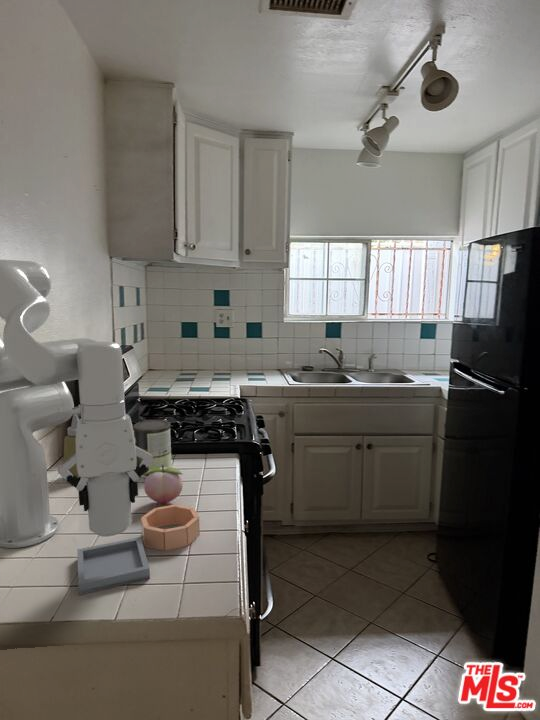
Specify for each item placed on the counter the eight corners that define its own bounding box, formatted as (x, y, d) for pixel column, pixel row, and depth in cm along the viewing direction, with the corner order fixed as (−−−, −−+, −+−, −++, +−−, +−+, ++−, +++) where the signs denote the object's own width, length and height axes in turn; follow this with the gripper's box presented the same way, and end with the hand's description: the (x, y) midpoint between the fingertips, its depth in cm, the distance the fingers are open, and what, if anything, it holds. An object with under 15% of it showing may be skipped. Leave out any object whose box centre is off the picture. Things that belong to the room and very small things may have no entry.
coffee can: (130, 478, 132) (128, 429, 130) (141, 464, 142) (139, 419, 140) (167, 478, 132) (165, 429, 130) (175, 465, 142) (174, 419, 140)
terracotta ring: (147, 554, 94) (146, 535, 94) (139, 528, 105) (138, 510, 104) (203, 542, 98) (203, 524, 98) (191, 518, 109) (190, 501, 108)
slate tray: (79, 595, 82) (78, 584, 81) (78, 559, 93) (77, 549, 92) (149, 578, 86) (149, 568, 86) (140, 546, 97) (140, 536, 97)
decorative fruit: (184, 494, 121) (183, 457, 120) (183, 509, 113) (181, 469, 112) (146, 497, 120) (144, 459, 119) (142, 512, 112) (140, 471, 111)
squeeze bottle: (76, 485, 128) (71, 420, 125) (57, 479, 132) (52, 416, 129) (101, 475, 135) (97, 413, 132) (82, 469, 139) (78, 410, 136)
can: (119, 540, 84) (115, 475, 82) (81, 536, 85) (76, 473, 84) (139, 520, 91) (135, 460, 89) (103, 517, 92) (99, 458, 91)
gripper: (49, 421, 78) (57, 522, 81) (156, 410, 85) (160, 503, 87) (50, 411, 85) (58, 504, 88) (149, 401, 92) (154, 488, 94)
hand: (109, 503), depth 87 cm, fingers closed on can, 7 cm apart
